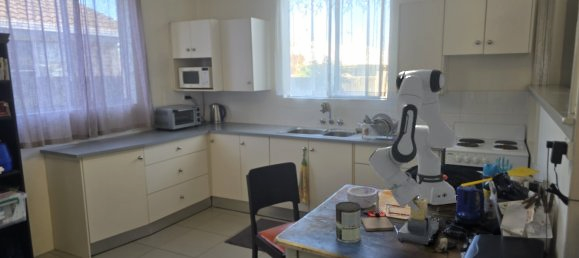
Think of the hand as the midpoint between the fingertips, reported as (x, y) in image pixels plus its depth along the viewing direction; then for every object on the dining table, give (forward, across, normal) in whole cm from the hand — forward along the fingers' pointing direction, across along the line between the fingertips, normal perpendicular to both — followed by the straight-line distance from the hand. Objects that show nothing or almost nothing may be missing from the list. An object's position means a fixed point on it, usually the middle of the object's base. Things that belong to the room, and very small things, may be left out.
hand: (420, 207), depth 171 cm
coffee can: (-9, -18, +26) cm, 33 cm away
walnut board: (-5, 0, +22) cm, 22 cm away
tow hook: (-8, +12, +25) cm, 29 cm away
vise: (+8, 0, +9) cm, 12 cm away
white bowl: (-16, +21, +33) cm, 43 cm away
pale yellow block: (+3, 0, +4) cm, 5 cm away
